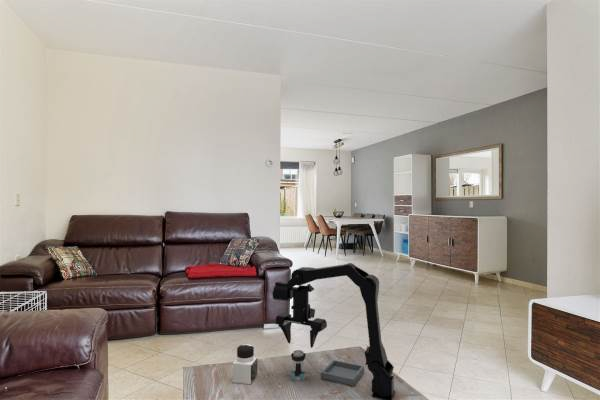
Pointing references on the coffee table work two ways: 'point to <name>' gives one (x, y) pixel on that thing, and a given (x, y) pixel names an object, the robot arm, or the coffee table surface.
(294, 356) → the push button
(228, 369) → the coffee table surface
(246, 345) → the medicine bottle
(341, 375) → the charcoal tray
